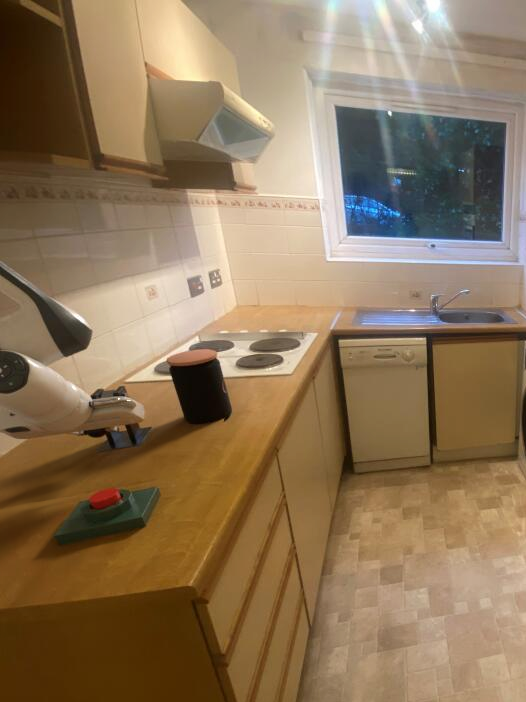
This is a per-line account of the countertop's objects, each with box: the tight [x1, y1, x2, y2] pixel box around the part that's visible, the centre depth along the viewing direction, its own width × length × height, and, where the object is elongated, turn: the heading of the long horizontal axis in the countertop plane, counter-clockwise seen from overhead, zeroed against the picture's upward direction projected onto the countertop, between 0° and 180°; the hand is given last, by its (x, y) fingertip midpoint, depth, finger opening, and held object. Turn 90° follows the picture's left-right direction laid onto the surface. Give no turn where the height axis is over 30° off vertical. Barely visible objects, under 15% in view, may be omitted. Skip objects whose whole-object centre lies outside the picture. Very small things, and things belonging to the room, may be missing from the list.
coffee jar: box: [166, 348, 233, 425], centre depth 114 cm, size 11×11×18 cm
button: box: [88, 487, 121, 509], centre depth 78 cm, size 4×4×2 cm
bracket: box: [89, 385, 153, 453], centre depth 102 cm, size 10×8×14 cm
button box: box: [53, 485, 162, 546], centre depth 79 cm, size 12×10×4 cm
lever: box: [85, 389, 116, 439], centre depth 96 cm, size 14×4×4 cm, turn 25°
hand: (98, 430), depth 93 cm, fingers closed on lever, 3 cm apart
